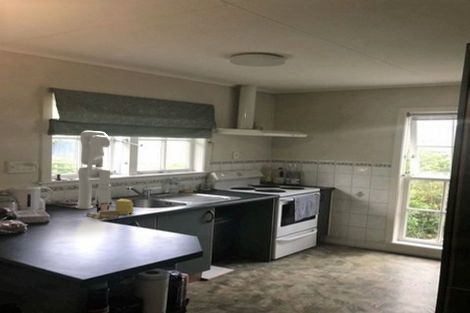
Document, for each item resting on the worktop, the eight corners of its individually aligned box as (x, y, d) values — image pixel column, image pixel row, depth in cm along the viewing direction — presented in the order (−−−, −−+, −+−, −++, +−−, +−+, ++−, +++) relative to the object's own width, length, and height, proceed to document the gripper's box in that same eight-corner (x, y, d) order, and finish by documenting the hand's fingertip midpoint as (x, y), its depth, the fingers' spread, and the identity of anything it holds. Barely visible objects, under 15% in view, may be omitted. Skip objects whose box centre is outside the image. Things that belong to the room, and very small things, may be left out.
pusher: (98, 217, 312) (98, 210, 312) (111, 215, 320) (112, 209, 320) (99, 217, 311) (99, 211, 311) (112, 216, 320) (113, 209, 319)
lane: (87, 215, 317) (87, 208, 317) (105, 213, 328) (105, 207, 328) (100, 219, 307) (100, 212, 307) (119, 217, 318) (119, 210, 318)
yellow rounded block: (133, 213, 340) (133, 199, 339) (128, 215, 329) (129, 201, 329) (119, 212, 341) (120, 198, 340) (114, 214, 330) (115, 200, 330)
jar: (96, 214, 318) (97, 202, 317) (103, 213, 322) (104, 202, 322) (101, 215, 314) (102, 204, 313) (108, 214, 318) (109, 203, 318)
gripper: (111, 185, 326) (110, 210, 327) (90, 186, 313) (88, 212, 314) (117, 186, 322) (116, 212, 322) (96, 187, 308) (95, 214, 309)
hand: (102, 212), depth 318 cm, fingers closed on jar, 6 cm apart
